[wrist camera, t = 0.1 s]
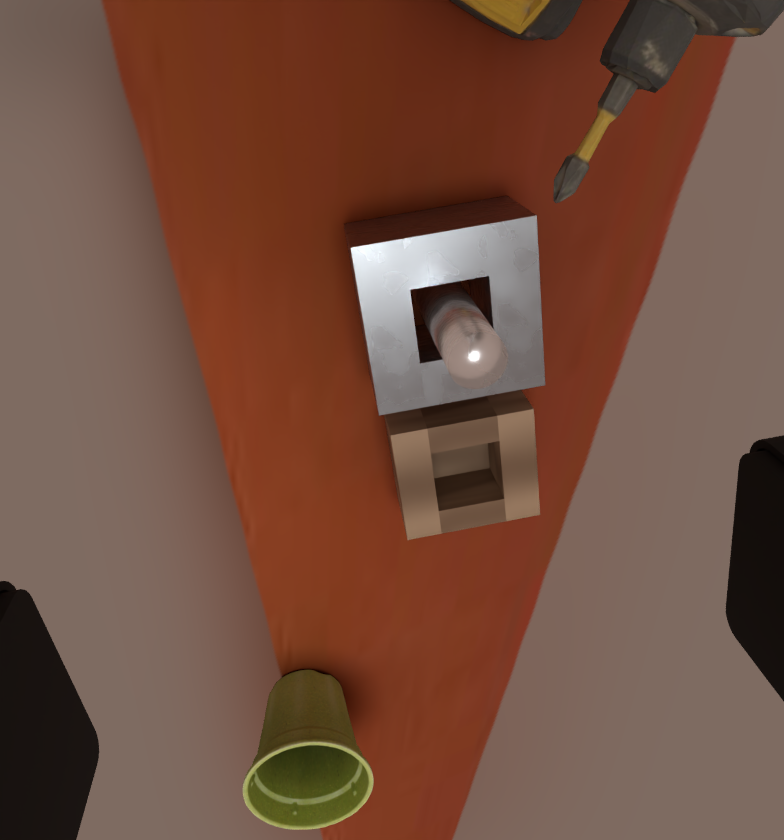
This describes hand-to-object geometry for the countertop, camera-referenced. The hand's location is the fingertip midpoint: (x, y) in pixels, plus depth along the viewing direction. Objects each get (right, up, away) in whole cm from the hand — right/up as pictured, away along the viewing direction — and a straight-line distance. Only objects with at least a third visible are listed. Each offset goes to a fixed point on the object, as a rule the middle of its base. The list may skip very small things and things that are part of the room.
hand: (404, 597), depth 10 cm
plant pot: (-7, -20, +51) cm, 55 cm away
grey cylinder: (+3, +11, +36) cm, 38 cm away
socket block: (+3, +11, +36) cm, 38 cm away
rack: (+4, +1, +41) cm, 42 cm away
